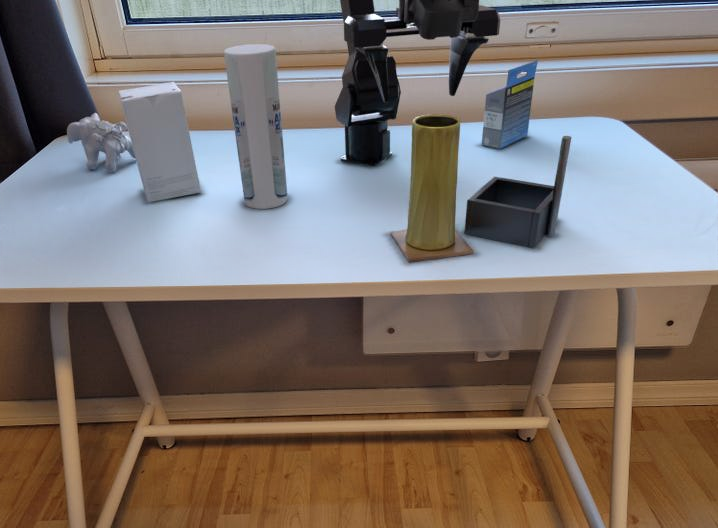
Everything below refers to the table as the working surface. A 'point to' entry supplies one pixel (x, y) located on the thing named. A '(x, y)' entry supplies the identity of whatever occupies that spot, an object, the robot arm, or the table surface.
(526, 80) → the tape cartridge
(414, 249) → the cork pad
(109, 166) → the elephant statuette
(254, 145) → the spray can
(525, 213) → the holder
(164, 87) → the cosmetic box
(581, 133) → the table surface
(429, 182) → the vase
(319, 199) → the table surface
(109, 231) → the table surface
